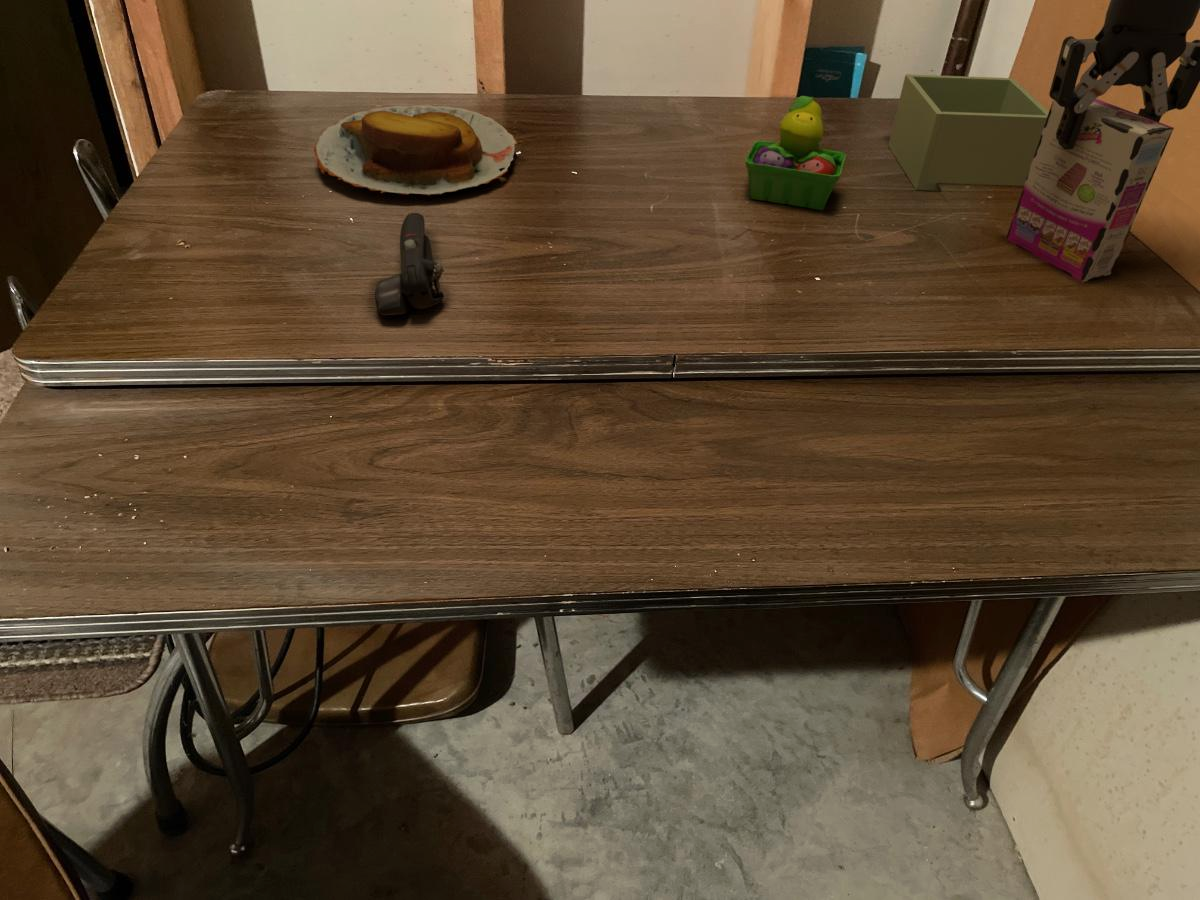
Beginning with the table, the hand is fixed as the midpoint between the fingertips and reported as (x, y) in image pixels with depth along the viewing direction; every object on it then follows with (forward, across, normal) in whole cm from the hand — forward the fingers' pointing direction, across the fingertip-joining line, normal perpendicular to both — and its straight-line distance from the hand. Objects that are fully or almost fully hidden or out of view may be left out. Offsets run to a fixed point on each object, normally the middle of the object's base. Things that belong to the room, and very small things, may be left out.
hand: (1099, 147), depth 94 cm
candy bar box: (+13, 0, 0) cm, 13 cm away
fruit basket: (+13, +27, -16) cm, 34 cm away
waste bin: (+13, +3, -26) cm, 30 cm away
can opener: (+13, +70, +8) cm, 72 cm away
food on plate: (+13, +74, -22) cm, 79 cm away
